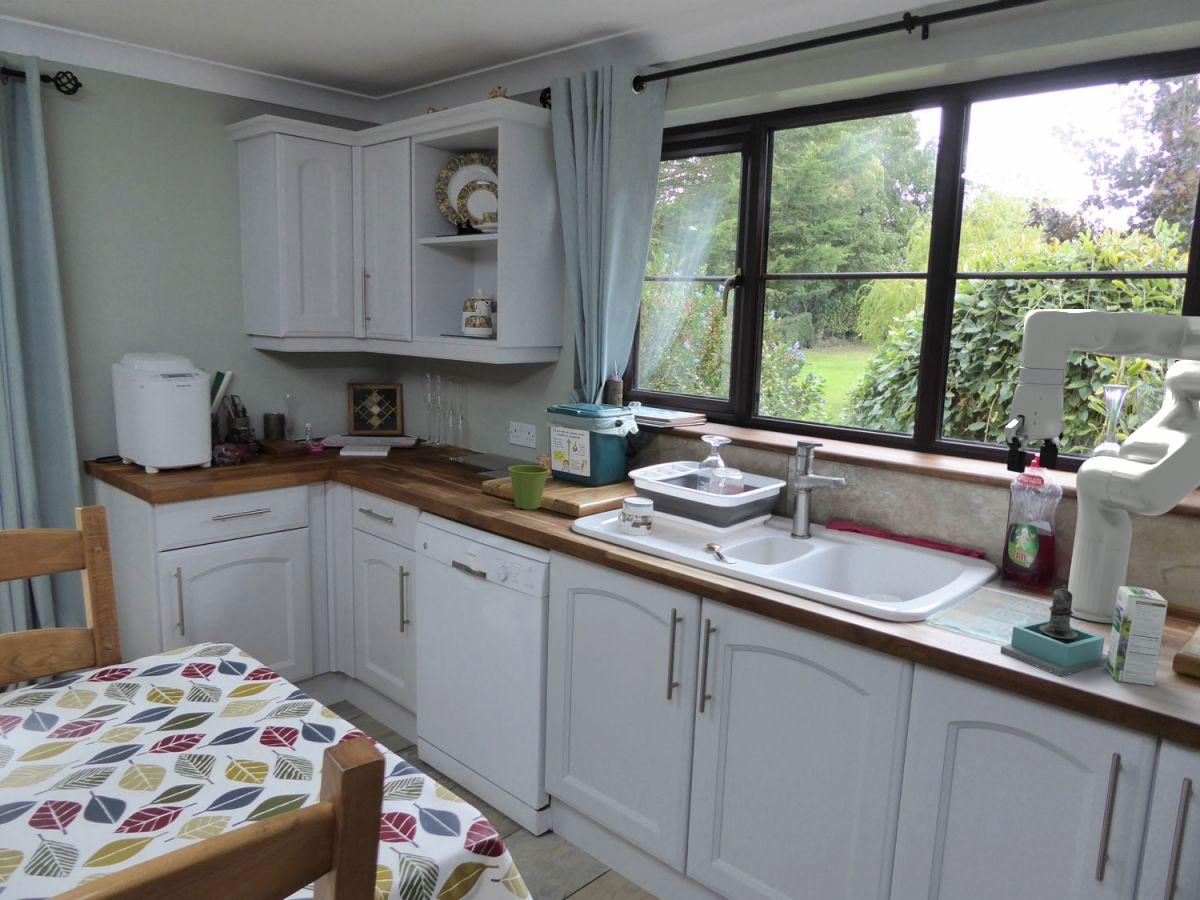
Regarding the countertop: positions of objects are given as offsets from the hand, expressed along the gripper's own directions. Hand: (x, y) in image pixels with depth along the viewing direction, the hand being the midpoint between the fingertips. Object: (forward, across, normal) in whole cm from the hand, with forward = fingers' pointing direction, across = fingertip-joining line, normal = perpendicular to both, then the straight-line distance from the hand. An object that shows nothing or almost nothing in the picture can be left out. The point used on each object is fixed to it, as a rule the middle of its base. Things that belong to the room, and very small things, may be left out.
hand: (1031, 469), depth 156 cm
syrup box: (+30, +6, +24) cm, 39 cm away
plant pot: (+29, +46, -121) cm, 133 cm away
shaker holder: (+30, +10, +14) cm, 34 cm away
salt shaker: (+29, +10, +14) cm, 33 cm away
